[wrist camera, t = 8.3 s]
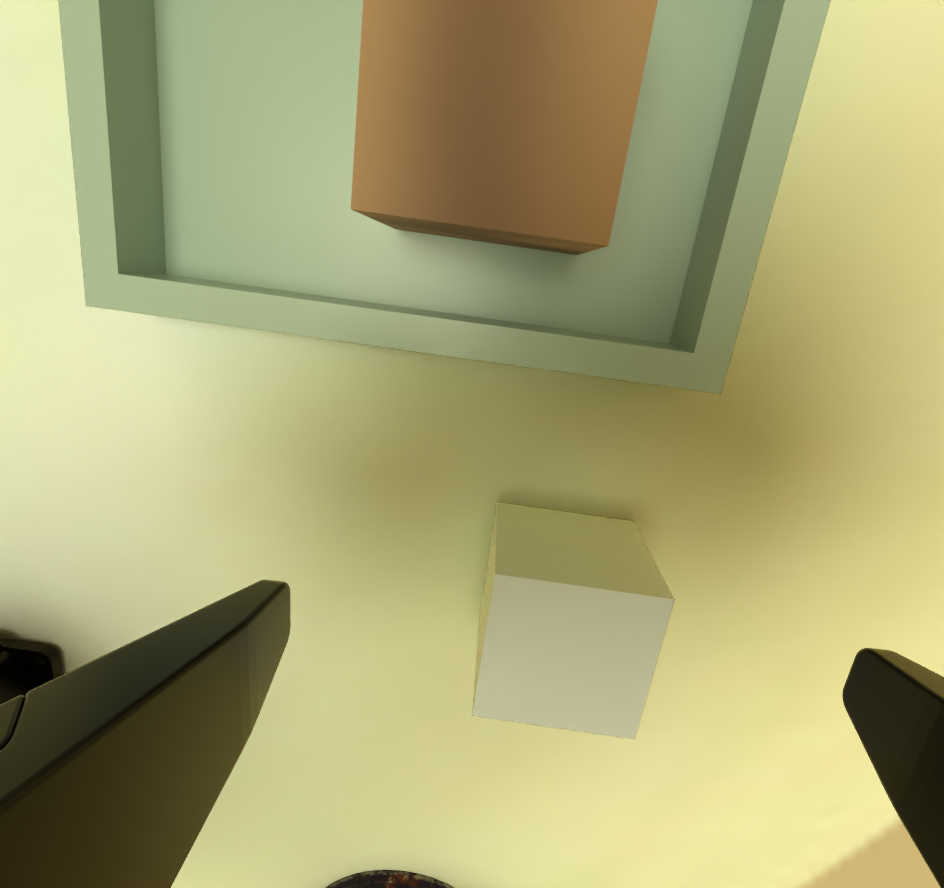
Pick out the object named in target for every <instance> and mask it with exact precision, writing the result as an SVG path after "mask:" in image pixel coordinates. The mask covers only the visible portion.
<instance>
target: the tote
mask: <svg viewBox="0 0 944 888" xmlns="http://www.w3.org/2000/svg"><path fill="white" fill-rule="evenodd" d="M830 1H831V0H658V3H657V8H656V13H655V18H654V23H653V28H652V33H651V38H650V43H649V47H648V52H647V57H646V62H645V67H644V72H643V77H642V82H641V87H640V92H639V97H638V102H637V107H636V112H635V117H634V122H633V127H632V132H631V137H630V142H629V147H628V152H627V156H626V161H625V166H624V171H623V176H622V181H621V186H620V191H619V196H618V201H617V206H616V211H615V216H614V221H613V226H612V231H611V236H610V241H609V246H606V247H603V248H600V249H596V250H593V251H590V252H586V253H583V254H579V255H572V254H565V253H558V252H551V251H544V250H536V249H529V248H522V247H515V246H508V245H501V244H494V243H487V242H480V241H473V240H466V239H459V238H452V237H445V236H438V235H431V234H424V233H417V232H410V231H403V230H396V229H394V228H392V227H389V226H387V225H385V224H383V223H380V222H378V221H376V220H374V219H371V218H369V217H367V216H365V215H362V214H360V213H358V212H356V211H353V210H351V195H352V178H353V161H354V145H355V128H356V112H357V95H358V78H359V62H360V45H361V29H362V12H363V0H58V2H59V13H60V24H61V35H62V46H63V57H64V68H65V79H66V90H67V101H68V112H69V123H70V134H71V145H72V156H73V167H74V178H75V189H76V200H77V211H78V222H79V233H80V244H81V255H82V266H83V277H84V288H85V299H86V306H90V307H97V308H104V309H112V310H119V311H126V312H133V313H140V314H148V315H155V316H162V317H169V318H176V319H184V320H191V321H198V322H205V323H212V324H220V325H227V326H234V327H241V328H248V329H256V330H263V331H270V332H277V333H284V334H292V335H299V336H306V337H313V338H320V339H328V340H335V341H342V342H349V343H356V344H364V345H371V346H378V347H385V348H392V349H400V350H407V351H414V352H421V353H428V354H436V355H443V356H450V357H457V358H464V359H472V360H479V361H486V362H493V363H500V364H508V365H515V366H522V367H529V368H536V369H544V370H551V371H558V372H565V373H572V374H580V375H587V376H594V377H601V378H608V379H616V380H623V381H630V382H637V383H644V384H652V385H659V386H666V387H673V388H680V389H688V390H695V391H702V392H709V393H716V394H721V391H722V387H723V384H724V380H725V376H726V373H727V369H728V366H729V362H730V359H731V355H732V351H733V348H734V344H735V341H736V337H737V333H738V330H739V326H740V323H741V319H742V316H743V312H744V308H745V305H746V301H747V298H748V294H749V291H750V287H751V283H752V280H753V276H754V273H755V269H756V266H757V262H758V258H759V255H760V251H761V248H762V244H763V240H764V237H765V233H766V230H767V226H768V223H769V219H770V215H771V212H772V208H773V205H774V201H775V198H776V194H777V190H778V187H779V183H780V180H781V176H782V172H783V169H784V165H785V162H786V158H787V155H788V151H789V147H790V144H791V140H792V137H793V133H794V130H795V126H796V122H797V119H798V115H799V112H800V108H801V105H802V101H803V97H804V94H805V90H806V87H807V83H808V79H809V76H810V72H811V69H812V65H813V62H814V58H815V54H816V51H817V47H818V44H819V40H820V37H821V33H822V29H823V26H824V22H825V19H826V15H827V11H828V8H829V4H830Z"/></svg>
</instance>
